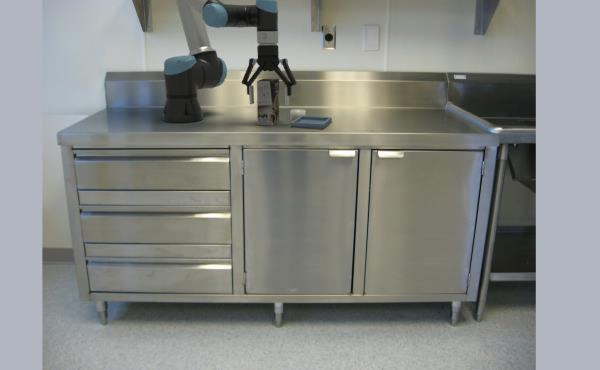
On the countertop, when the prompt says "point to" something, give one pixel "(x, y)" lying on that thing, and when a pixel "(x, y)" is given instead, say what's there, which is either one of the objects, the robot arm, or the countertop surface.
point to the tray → (311, 122)
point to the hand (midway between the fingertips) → (269, 104)
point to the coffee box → (268, 102)
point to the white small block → (297, 113)
